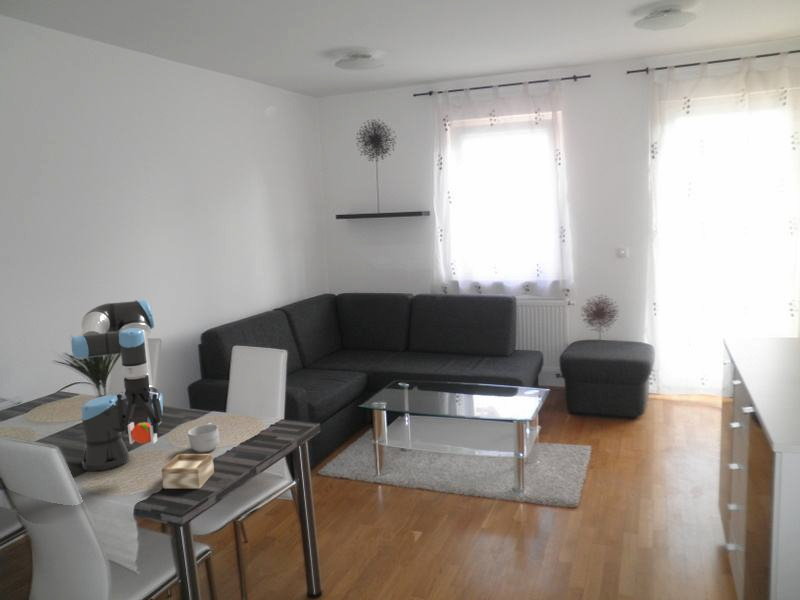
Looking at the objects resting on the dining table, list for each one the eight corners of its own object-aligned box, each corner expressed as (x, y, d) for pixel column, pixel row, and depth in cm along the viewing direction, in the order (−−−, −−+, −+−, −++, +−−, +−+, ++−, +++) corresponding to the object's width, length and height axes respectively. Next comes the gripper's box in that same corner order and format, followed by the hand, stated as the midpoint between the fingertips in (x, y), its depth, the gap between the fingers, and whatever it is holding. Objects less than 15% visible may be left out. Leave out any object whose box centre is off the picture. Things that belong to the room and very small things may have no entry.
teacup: (211, 455, 226) (209, 434, 225) (184, 454, 228) (181, 433, 227) (229, 441, 240) (227, 421, 238) (203, 440, 242) (201, 420, 240)
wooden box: (163, 488, 202) (161, 469, 201) (180, 472, 213) (178, 454, 212) (199, 488, 200) (197, 469, 199) (214, 472, 212) (212, 453, 211)
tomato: (160, 442, 209) (157, 422, 208) (139, 449, 205) (137, 428, 203) (150, 436, 215) (147, 417, 214) (129, 443, 210) (127, 422, 209)
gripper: (100, 379, 203) (109, 446, 207) (159, 379, 201) (167, 446, 205) (113, 373, 210) (121, 437, 214) (170, 372, 209) (177, 437, 213)
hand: (143, 442), depth 210 cm, fingers closed on tomato, 7 cm apart
